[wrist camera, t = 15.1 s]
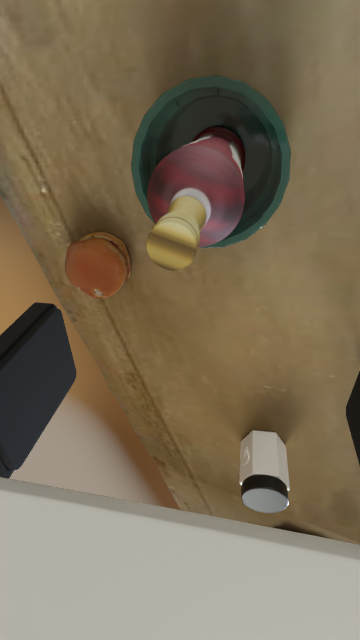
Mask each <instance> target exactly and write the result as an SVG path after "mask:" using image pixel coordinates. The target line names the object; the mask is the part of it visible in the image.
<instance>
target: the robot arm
mask: <svg viewBox="0 0 360 640" xmlns="http://www.w3.org/2000/svg"><path fill="white" fill-rule="evenodd" d="M75 378H76V368H75V364H74V360H73V356H72V352H71V348H70V344H69V341H68V336H67V332H66V328H65V324H64V320H63V317H62V313H61V311H60V310H59V309H57V307H56V306H55V305H54V304H47V303H34V304H33V305H32V306H31V307H29V309H27V310H26V311H25V312H24V313H23V314H22V315H21V316H20V317H19V318H18V319H17V320H16V321H15V322H14V323H13V324H12V325H11V326H10V327H9V328H8V329H6V330H5V331H4V332H3V333H2V334H1V335H0V640H360V545H357V544H352V543H348V542H343V541H338V540H333V539H328V538H324V537H318V536H313V535H308V534H303V533H298V532H292V531H287V530H282V529H277V528H271V527H266V526H261V525H256V524H251V523H245V522H240V521H235V520H230V519H224V518H219V517H214V516H209V515H203V514H198V513H193V512H187V511H182V510H177V509H171V508H166V507H161V506H155V505H150V504H145V503H139V502H134V501H128V500H123V499H117V498H112V497H107V496H101V495H96V494H91V493H85V492H79V491H74V490H68V489H63V488H57V487H52V486H46V485H41V484H35V483H29V482H24V481H18V480H13V479H9V478H10V476H11V474H12V473H13V471H14V470H17V469H19V468H20V467H21V465H22V464H23V463H24V461H25V459H26V458H27V456H28V455H29V453H30V451H31V450H32V448H33V447H34V445H35V443H36V442H37V440H38V439H39V437H40V435H41V434H42V432H43V431H44V429H45V427H46V426H47V424H48V423H49V421H50V420H51V418H52V416H53V414H54V413H55V412H56V410H57V408H58V407H59V405H60V404H61V402H62V400H63V399H64V397H65V396H66V394H67V392H68V391H69V389H70V388H71V386H72V384H73V383H74V381H75ZM346 417H347V421H348V425H349V428H350V432H351V436H352V439H353V443H354V447H355V450H356V454H357V457H358V461H359V465H360V372H359V374H358V377H357V380H356V382H355V385H354V387H353V390H352V393H351V395H350V398H349V400H348V403H347V406H346Z"/></svg>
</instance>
